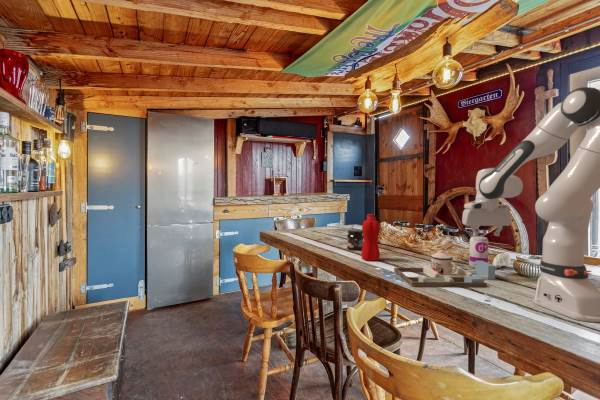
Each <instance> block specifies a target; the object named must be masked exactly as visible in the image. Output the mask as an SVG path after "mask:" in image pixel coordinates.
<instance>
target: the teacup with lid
mask: <svg viewBox="0 0 600 400" xmlns="http://www.w3.org/2000/svg"><path fill="white" fill-rule="evenodd" d="M430 257H431V259H430V263H431V264H430V268H431V269H432V270H434V271H435V272H437V273H439V276H444V275H447V276H453V274H456V273H455V272H456V270H457V264H456V263H455V262H453V259H454V258H453V256H452V255H450V254H449V253H447V252H445V250H444V249H440V250H439V251H437V252H435V253H432V254H431V255H430ZM452 268H454V271H453V272H452Z"/></svg>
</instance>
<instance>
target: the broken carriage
mask: <svg viewBox="0 0 600 400" xmlns="http://www.w3.org/2000/svg"><path fill="white" fill-rule="evenodd" d="M478 276H479V275H473V276H464V282H485V280H484V278H481V277H478ZM417 277H418V282H454V280H453V279H452V278H450V277H449V276H447V275H444V278H424V277H425V276H423V275H422V274H421V275H420V274H418V275H417Z"/></svg>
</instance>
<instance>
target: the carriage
mask: <svg viewBox="0 0 600 400" xmlns="http://www.w3.org/2000/svg"><path fill="white" fill-rule="evenodd" d="M456 266H457V265H456ZM422 268H423V272H422V273H424V274H425V275H426V276H427V277H444V276H439V273H437V272H435V271H434V270H432V269H431V267H428V266H427V265H422ZM453 271H454V267H452V272H453ZM454 274H456V275H452V276H449V277H464V276H474V275H476V276H478V277H481V278H484V281H489V280H490V281H493V280H496V265H494V264H491V263H489V262H488V263H487V262H484V261H475V268H474V270H473V269H472V270H471V269H463V268H462V267H459V266H457V270H456V272H455V273H454Z"/></svg>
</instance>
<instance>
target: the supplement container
mask: <svg viewBox="0 0 600 400" xmlns="http://www.w3.org/2000/svg"><path fill="white" fill-rule="evenodd" d="M363 242H364V238H363V231H362V229H348V230H347V235H346V248H347V249H348V250H350V251H362V247H363Z"/></svg>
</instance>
